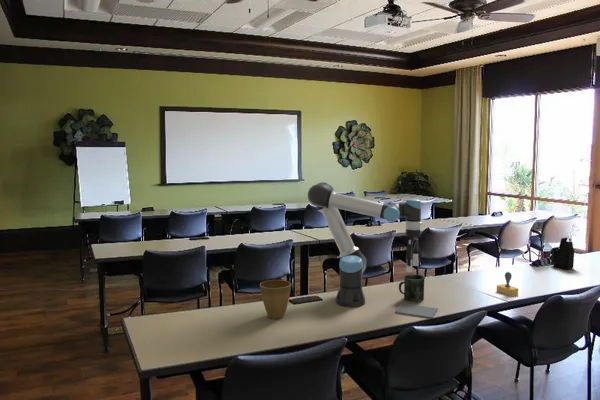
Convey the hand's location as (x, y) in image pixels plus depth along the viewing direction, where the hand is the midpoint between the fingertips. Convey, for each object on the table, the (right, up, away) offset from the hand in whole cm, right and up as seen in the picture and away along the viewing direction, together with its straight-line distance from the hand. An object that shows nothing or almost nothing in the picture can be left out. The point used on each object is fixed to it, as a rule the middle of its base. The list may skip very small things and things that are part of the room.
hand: (412, 268), depth 264 cm
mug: (0, -17, +2) cm, 17 cm away
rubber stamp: (+55, -15, +13) cm, 59 cm away
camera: (+113, -9, +69) cm, 133 cm away
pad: (-2, -19, -17) cm, 25 cm away
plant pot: (-71, -20, -24) cm, 77 cm away
